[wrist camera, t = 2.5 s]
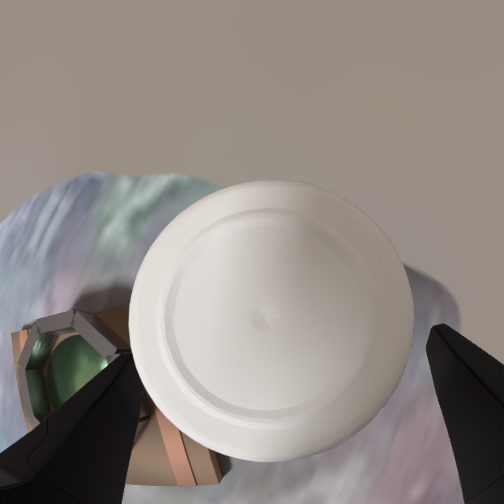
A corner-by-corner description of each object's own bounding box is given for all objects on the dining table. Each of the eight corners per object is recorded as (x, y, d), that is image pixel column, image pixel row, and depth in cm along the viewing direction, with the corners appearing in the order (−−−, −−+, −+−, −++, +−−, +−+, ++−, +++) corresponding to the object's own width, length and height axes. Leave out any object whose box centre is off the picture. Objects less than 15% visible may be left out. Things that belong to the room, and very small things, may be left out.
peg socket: (164, 459, 14) (149, 469, 13) (55, 452, 15) (38, 457, 13) (128, 304, 18) (111, 299, 16) (30, 328, 18) (12, 325, 16)
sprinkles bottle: (242, 306, 18) (110, 209, 5) (318, 289, 17) (367, 145, 5) (257, 383, 16) (148, 477, 3) (336, 365, 16) (447, 421, 3)
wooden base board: (222, 477, 15) (218, 484, 14) (47, 467, 16) (39, 470, 15) (177, 296, 18) (170, 293, 17) (19, 334, 19) (10, 333, 18)
